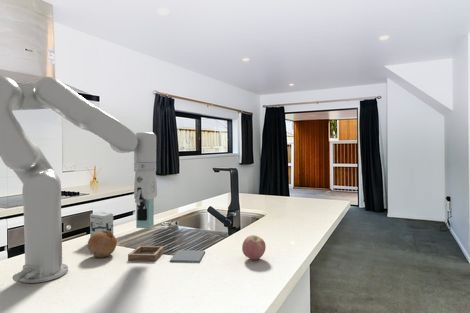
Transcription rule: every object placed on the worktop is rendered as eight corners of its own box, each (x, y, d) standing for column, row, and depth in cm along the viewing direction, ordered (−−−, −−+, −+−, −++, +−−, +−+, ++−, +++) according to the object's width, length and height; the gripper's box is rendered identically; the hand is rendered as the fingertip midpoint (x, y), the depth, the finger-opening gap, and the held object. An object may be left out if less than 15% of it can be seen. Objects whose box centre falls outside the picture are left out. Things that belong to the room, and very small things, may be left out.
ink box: (89, 242, 124) (89, 213, 124) (100, 239, 129) (99, 211, 128) (104, 245, 120) (103, 215, 120) (114, 241, 124) (113, 213, 124)
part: (148, 228, 104) (149, 199, 104) (136, 227, 105) (136, 199, 105) (153, 225, 109) (153, 197, 109) (141, 224, 109) (141, 197, 109)
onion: (113, 262, 110) (126, 236, 111) (96, 264, 101) (110, 236, 102) (95, 250, 113) (107, 225, 114) (76, 251, 104) (90, 224, 105)
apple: (246, 264, 98) (245, 240, 98) (239, 256, 105) (239, 234, 105) (268, 262, 100) (268, 238, 100) (260, 254, 107) (260, 232, 107)
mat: (199, 262, 100) (199, 260, 100) (170, 261, 101) (170, 259, 101) (205, 252, 110) (205, 250, 110) (178, 251, 111) (178, 250, 111)
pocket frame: (155, 261, 102) (155, 255, 102) (128, 260, 103) (128, 254, 103) (164, 251, 111) (164, 246, 111) (139, 251, 112) (139, 245, 112)
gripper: (146, 168, 98) (146, 224, 98) (163, 166, 115) (163, 214, 115) (124, 168, 98) (124, 224, 99) (144, 166, 115) (144, 213, 115)
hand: (145, 218), depth 107 cm, fingers closed on part, 4 cm apart
